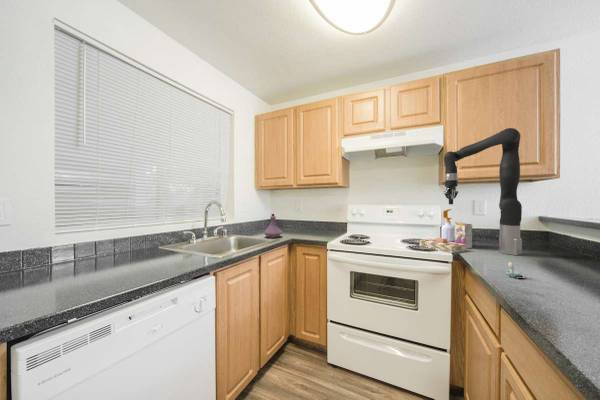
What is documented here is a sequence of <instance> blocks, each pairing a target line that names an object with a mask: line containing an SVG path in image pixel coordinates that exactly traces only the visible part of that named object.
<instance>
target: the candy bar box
mask: <svg viewBox="0 0 600 400" xmlns="http://www.w3.org/2000/svg"><path fill="white" fill-rule="evenodd" d="M454 227H455V241H454V242H455V243H460V244H466V249H473V224H472V223H468V222H461V221H454Z"/></svg>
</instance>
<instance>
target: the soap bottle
mask: <svg viewBox="0 0 600 400" xmlns="http://www.w3.org/2000/svg"><path fill="white" fill-rule="evenodd" d="M450 211H452V209H450V208H447V209H446V210H445V209H444V210H443V211H442V213H443V215H442V217H443V219H445V220H446V221H445V224H444V225H442V226H441V237H440V238H445V239H447V241H449V242H455V225H452V222H451V219H453V217H448V215H449V214H448V212H450Z"/></svg>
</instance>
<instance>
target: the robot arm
mask: <svg viewBox="0 0 600 400" xmlns="http://www.w3.org/2000/svg"><path fill="white" fill-rule="evenodd" d="M520 142H521V133H520V132H519V130H517V129H516V128H514V127H509V128H508V127H507V128H505V129H503V130H501V131H499V132H496V133H495V134H493V135H491V136H489V137H486V138H484V139H482V140H480V141H477V142H474V143H472V144H469V145H465V146H463V147H461V148H460V149H459V150H457V151H456V150H455V151H452V150H451V151H447V152H445V154H444V156H443V162H444V167H445V175H444V187H446V189H445V191H443V194H444V196H445V197H446V199H448V205H454V200H455V199H456V197H457V196H458V194H459V191H457V187H458V166H457V164H456V162H458V161H460V160H463V159H464V158H467V157H471V156H474V155H476V154H479V153H481V152H482V151H485V150H488V149H489V148H492V147H493V148H494V147H495V146H499V145H501V148H502V153H501V155H502V156H501V159H500V163H499V172H498V173H499V186H500V198H499V204H498V207H499V210H500V218H499V237H498V238H499V241H498V242H499V246H498V247H499V251H498V252H499V253H501V254H505V255H511V256H512V255H513V256H521V255H522V254H523V238H521V222H522V215H523V214H522V212H523V211H522V210H523V209H522V208H523V206H522V203H521V201H519V200H518V192H517V190H518V185H519V183H520V179H521V164H520V163H521V162H520V155H519V150H520V149H519V148H520Z"/></svg>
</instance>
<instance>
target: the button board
mask: <svg viewBox="0 0 600 400" xmlns="http://www.w3.org/2000/svg"><path fill="white" fill-rule="evenodd" d="M433 239H434V240H436V238H433ZM447 243H455V241H447ZM456 244H458V245H450V244H446V243H439V242H436V241H429V240H426V239H420V240H419V247H422V246H424V247H423V248H427V247H428V248H427V249H431V248H432V250H436V251H441V252H446V253H451V254H453V253H454V254H455V253H459V252H460V251H461V252H465V251H467V248H466V244H460V243H456Z"/></svg>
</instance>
